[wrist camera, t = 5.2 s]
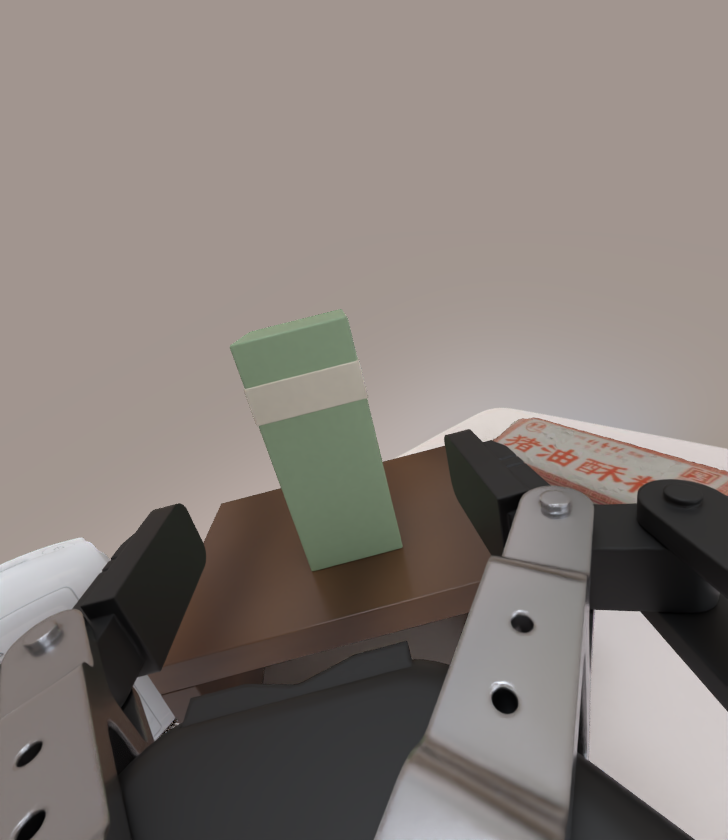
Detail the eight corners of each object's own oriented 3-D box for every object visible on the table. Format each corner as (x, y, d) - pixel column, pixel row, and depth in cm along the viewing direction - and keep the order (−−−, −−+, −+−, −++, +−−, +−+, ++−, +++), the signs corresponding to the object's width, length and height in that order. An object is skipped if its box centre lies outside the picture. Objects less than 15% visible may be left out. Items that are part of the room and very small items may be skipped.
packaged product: (795, 462, 21) (695, 544, 18) (780, 530, 23) (686, 615, 20) (534, 401, 37) (454, 438, 34) (537, 444, 39) (461, 483, 35)
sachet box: (310, 573, 18) (226, 346, 14) (312, 521, 21) (247, 332, 17) (404, 548, 18) (348, 315, 14) (390, 501, 22) (342, 308, 18)
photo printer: (168, 664, 24) (72, 509, 20) (204, 696, 22) (103, 526, 17) (-42, 866, 17) (-269, 691, 13) (-25, 949, 14) (-303, 766, 10)
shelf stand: (218, 783, 18) (143, 671, 15) (258, 588, 29) (220, 503, 26) (583, 684, 18) (580, 555, 15) (482, 529, 29) (470, 438, 26)
